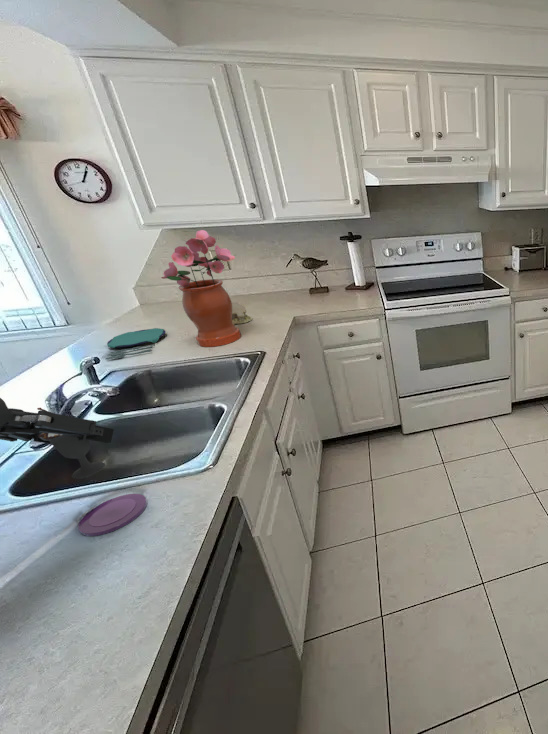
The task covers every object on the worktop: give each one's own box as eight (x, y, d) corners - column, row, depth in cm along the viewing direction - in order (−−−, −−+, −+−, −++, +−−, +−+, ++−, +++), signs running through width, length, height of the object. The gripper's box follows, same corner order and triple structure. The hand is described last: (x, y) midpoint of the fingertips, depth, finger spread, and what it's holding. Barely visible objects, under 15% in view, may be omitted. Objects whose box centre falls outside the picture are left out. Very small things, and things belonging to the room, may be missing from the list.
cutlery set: (171, 329, 189) (169, 324, 188) (157, 352, 165) (155, 347, 164) (116, 338, 181) (114, 333, 180) (93, 363, 157) (91, 358, 156)
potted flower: (260, 339, 175) (227, 230, 156) (188, 355, 162) (143, 238, 143) (253, 327, 189) (223, 225, 170) (187, 340, 176) (146, 232, 157)
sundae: (66, 470, 82) (26, 406, 76) (110, 455, 86) (75, 393, 80) (64, 487, 77) (21, 420, 71) (110, 470, 81) (74, 406, 75)
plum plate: (64, 535, 82) (62, 532, 82) (114, 495, 92) (112, 492, 92) (114, 537, 82) (112, 534, 81) (160, 497, 91) (158, 493, 91)
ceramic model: (249, 315, 204) (243, 296, 200) (254, 321, 197) (248, 301, 192) (216, 322, 196) (209, 302, 192) (220, 328, 188) (213, 308, 184)
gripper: (-132, 444, 59) (31, 461, 81) (17, 432, 60) (138, 452, 82) (-111, 393, 61) (42, 423, 83) (32, 384, 63) (146, 415, 85)
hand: (90, 437), depth 82 cm, fingers closed on sundae, 7 cm apart
